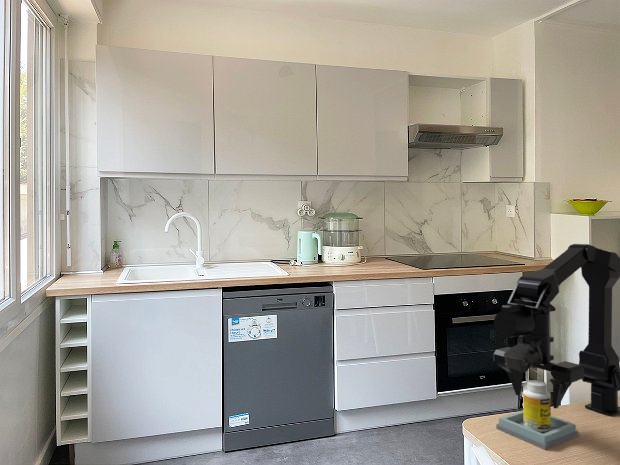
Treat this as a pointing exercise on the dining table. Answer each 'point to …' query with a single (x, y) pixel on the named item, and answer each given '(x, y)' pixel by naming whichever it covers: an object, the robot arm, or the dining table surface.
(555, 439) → the tray
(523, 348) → the robot arm
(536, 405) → the supplement bottle
